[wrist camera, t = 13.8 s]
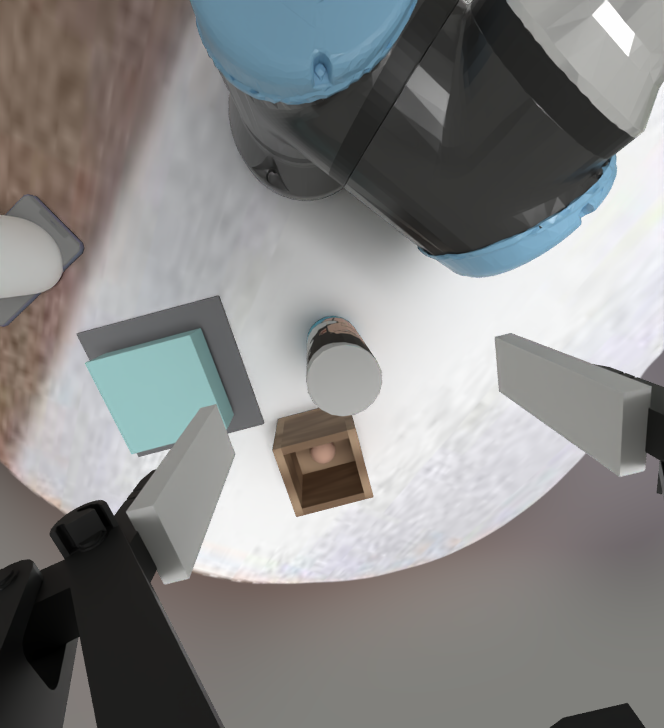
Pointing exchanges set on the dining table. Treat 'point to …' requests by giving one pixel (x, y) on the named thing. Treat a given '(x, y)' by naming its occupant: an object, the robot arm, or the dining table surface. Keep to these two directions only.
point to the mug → (27, 258)
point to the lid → (159, 388)
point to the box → (315, 480)
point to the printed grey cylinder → (340, 368)
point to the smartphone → (67, 242)
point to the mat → (178, 321)
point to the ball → (323, 453)
